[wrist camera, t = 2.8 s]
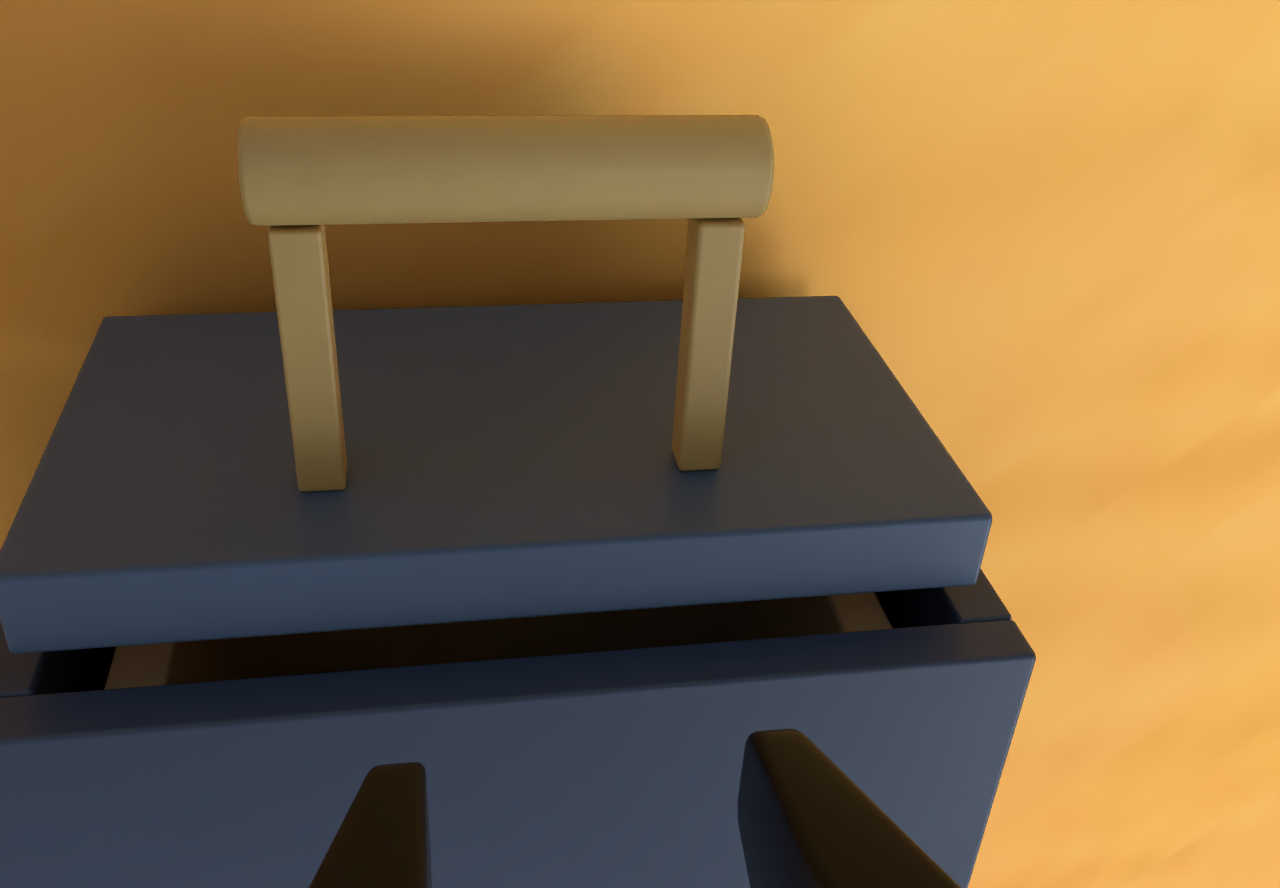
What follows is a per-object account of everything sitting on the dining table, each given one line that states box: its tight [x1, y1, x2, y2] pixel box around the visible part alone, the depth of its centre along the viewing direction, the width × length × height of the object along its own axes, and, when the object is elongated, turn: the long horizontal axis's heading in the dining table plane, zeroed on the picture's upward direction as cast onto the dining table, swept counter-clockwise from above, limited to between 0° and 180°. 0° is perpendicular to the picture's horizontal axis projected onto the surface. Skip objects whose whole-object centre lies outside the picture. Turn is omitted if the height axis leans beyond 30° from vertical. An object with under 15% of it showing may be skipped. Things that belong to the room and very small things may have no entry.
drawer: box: [0, 115, 992, 690], centre depth 20 cm, size 18×12×7 cm
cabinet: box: [0, 568, 1036, 888], centre depth 23 cm, size 15×14×9 cm
